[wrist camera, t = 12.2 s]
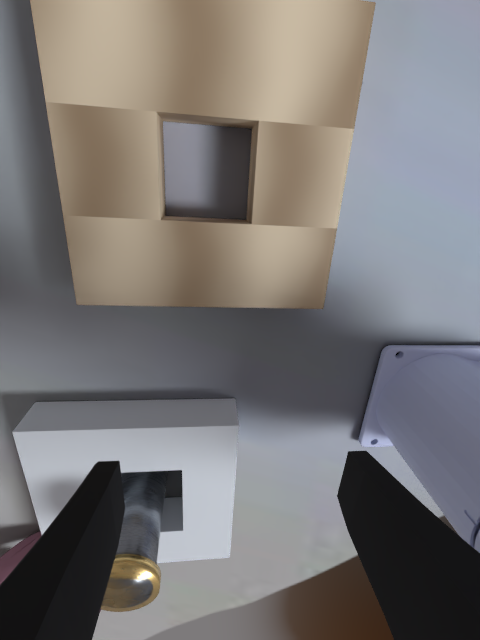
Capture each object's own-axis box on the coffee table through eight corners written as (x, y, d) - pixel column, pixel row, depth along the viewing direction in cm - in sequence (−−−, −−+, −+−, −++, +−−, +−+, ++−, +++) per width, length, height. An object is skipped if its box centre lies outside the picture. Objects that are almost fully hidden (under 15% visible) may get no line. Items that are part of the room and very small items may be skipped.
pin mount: (351, 27, 13) (375, 2, 12) (311, 296, 18) (323, 308, 16) (50, -12, 12) (22, -47, 10) (90, 291, 17) (76, 304, 15)
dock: (235, 398, 20) (239, 425, 18) (227, 523, 25) (229, 557, 23) (35, 402, 19) (12, 431, 17) (66, 533, 24) (52, 571, 21)
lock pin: (171, 451, 21) (157, 564, 15) (172, 489, 23) (160, 607, 16) (116, 454, 21) (78, 571, 15) (120, 492, 22) (88, 615, 16)
